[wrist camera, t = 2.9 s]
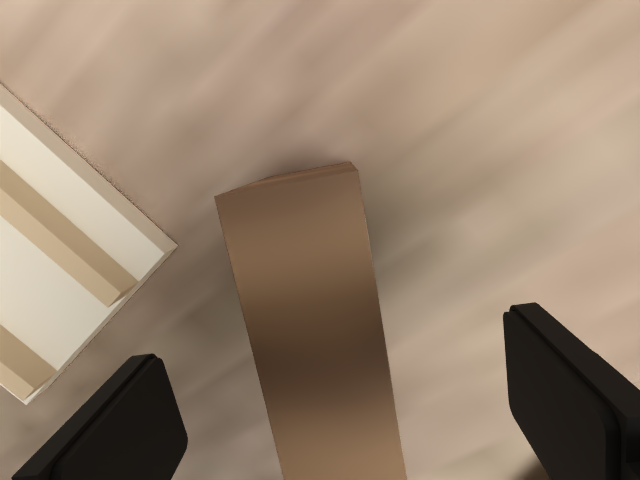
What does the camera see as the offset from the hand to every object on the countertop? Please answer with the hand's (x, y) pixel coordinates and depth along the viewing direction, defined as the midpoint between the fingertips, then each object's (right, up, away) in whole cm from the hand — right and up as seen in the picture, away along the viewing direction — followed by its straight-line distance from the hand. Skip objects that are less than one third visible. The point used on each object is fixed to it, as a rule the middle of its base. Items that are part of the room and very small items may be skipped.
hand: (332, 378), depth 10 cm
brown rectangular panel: (0, +1, +9) cm, 9 cm away
